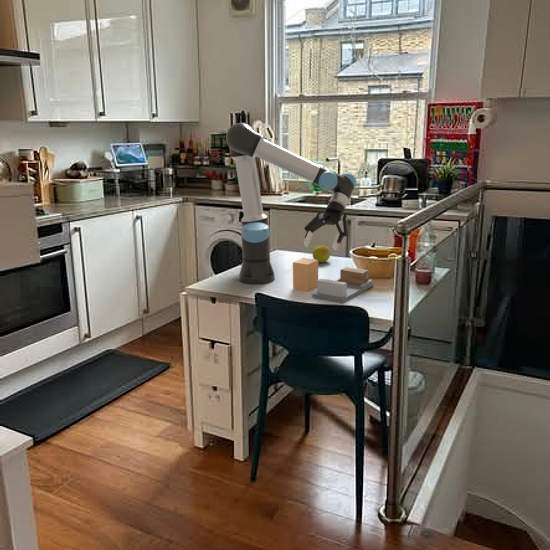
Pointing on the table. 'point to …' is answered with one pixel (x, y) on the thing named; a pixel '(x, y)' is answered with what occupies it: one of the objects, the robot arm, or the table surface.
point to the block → (305, 274)
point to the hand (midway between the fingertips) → (319, 247)
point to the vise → (339, 290)
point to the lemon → (321, 254)
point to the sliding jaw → (353, 275)
